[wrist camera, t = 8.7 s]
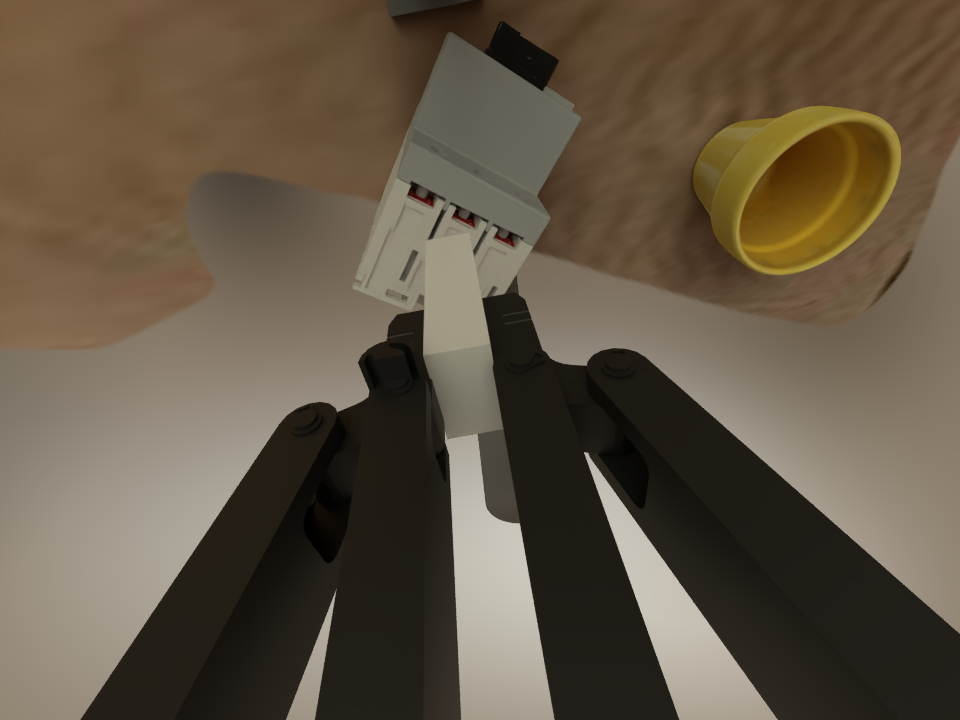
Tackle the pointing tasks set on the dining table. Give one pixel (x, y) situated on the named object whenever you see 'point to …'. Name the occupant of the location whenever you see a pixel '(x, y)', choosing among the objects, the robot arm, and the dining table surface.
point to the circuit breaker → (471, 167)
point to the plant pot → (797, 185)
